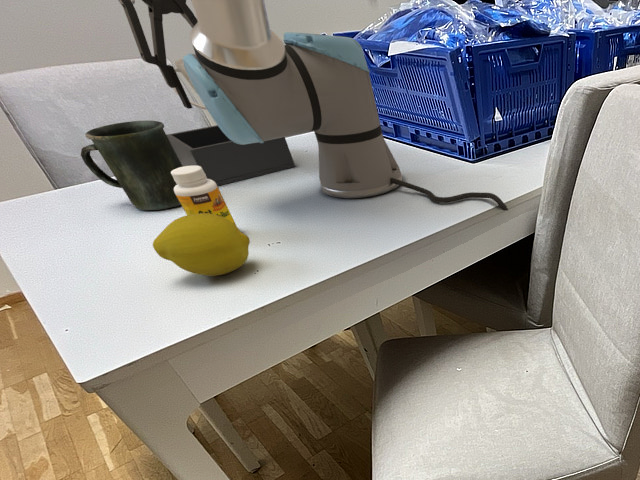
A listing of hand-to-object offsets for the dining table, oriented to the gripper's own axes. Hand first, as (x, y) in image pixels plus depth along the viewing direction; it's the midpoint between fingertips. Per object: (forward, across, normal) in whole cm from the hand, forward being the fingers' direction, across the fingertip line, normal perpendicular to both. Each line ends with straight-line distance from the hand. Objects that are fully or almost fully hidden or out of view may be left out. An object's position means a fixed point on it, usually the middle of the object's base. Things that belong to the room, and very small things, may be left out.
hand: (211, 103), depth 88 cm
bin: (+12, 0, 0) cm, 12 cm away
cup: (+1, 0, 0) cm, 1 cm away
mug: (+12, +18, +9) cm, 23 cm away
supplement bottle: (+12, +15, +35) cm, 40 cm away
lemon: (+12, +19, +47) cm, 52 cm away
